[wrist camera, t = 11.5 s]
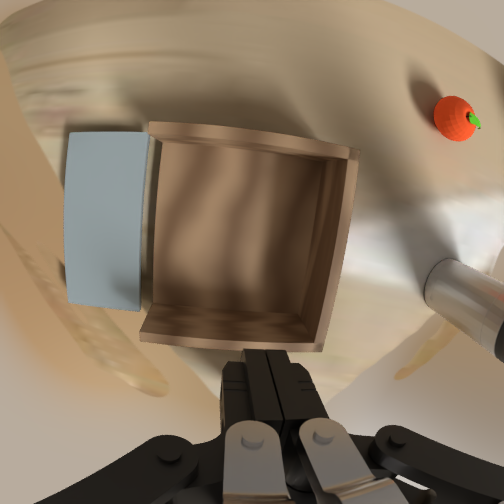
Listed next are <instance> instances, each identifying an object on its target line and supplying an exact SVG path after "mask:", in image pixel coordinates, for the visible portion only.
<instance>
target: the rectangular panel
mask: <svg viewBox="0 0 504 504" xmlns="http://www.w3.org/2000/svg"><path fill="white" fill-rule="evenodd" d="M149 142H150V135H148V132H73V133H70V135H69V143H68V151H67V161H66V173H65V189H64V257H65V273H66V285H67V295H68V303H74V304H81V305H88V306H96V307H103V308H111V309H119V310H128V311H137V312H139V311H140V310H141V239H142V218H143V202H144V189H145V178H146V168H147V158H148V150H149Z"/></svg>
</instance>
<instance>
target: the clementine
mask: <svg viewBox="0 0 504 504" xmlns="http://www.w3.org/2000/svg"><path fill="white" fill-rule="evenodd" d="M434 121H435V124H436V127H437V128H438V130H439V131H440V132H441V134H442V135H443V136H445V137H446V138H448V139H450V140H453V141H464V140H466V139H468V138H469V137H471V135H472V134H473V133H474V130H475V128H476V126H478V127H479V128H478V129H480V127H481V124H480V121H479V120H478V118H477V117H476V116H475V114H474V111H473V109H472V107H471V106H470V105H469V104H468V103H467V102H466V101H465V100H463V99H461V98H459V97H456V96H447V97H444V98H442V99H441V100H440V101H439V102H438V103H437V104H436V106H435V109H434Z"/></svg>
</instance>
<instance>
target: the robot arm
mask: <svg viewBox="0 0 504 504" xmlns="http://www.w3.org/2000/svg"><path fill="white" fill-rule="evenodd" d="M424 295H425V301H426V304H427V305H428V306H429V307H430V308H431V309H432V310H434V311H435V312H437V313H438V314H440V315H441V316H442V317H443V318H445V319H446V320H447V321H449V322H450V323H451V324H453V325H454V326H456V327H457V328H458V329H460V330H461V331H462V332H464V333H465V334H466V335H468V336H469V337H470V338H472V339H473V340H474V341H476V342H477V343H478V344H479V345H481V346H482V347H484V348H485V349H486V350H487V351H489V352H490V353H491V354H493V355H494V356H495V357H497V358H498V359H499V360H500V361H502V362H503V363H504V283H503V282H501V281H499V280H497V279H494V278H492V277H490V276H488V275H486V274H484V273H482V272H480V271H478V270H476V269H473V268H471V267H469V266H467V265H465V264H463V263H460V262H458V261H456V260H454V259H445V260H443V261H441V262H440V263H438V264H437V265H436V266H435V267H434V269H433V270H432V271H431V273H430V275H429V277H428V279H427V282H426V286H425V294H424ZM220 420H221V434H220V435H219V436H218V437H217V438H215V439H213V440H211V441H208V442H205V443H200V444H194V445H192V444H191V443H190V442H189V441H187V440H186V439H184V438H181V437H178V436H174V435H160V436H156V437H153V438H151V439H149V440H148V441H146V442H145V443H143V444H142V445H140V446H139V447H137V448H135V449H134V450H132V451H131V452H129V453H127V454H126V455H124V456H122V457H121V458H119V459H118V460H116V461H114V462H113V463H111V464H109V465H108V466H106V467H104V468H102V469H101V470H99V471H97V472H96V473H94V474H92V475H90V476H88V477H86V478H84V479H83V480H81V481H79V482H77V483H75V484H73V485H71V486H69V487H68V488H66V489H64V490H62V491H60V492H58V493H56V494H54V495H52V496H49V497H47V498H45V499H43V500H41V501H39V502H37V503H34V504H504V467H502V466H499V465H496V464H493V463H490V462H487V461H485V460H481V459H479V458H476V457H474V456H471V455H468V454H466V453H463V452H461V451H458V450H455V449H453V448H451V447H448V446H445V445H443V444H441V443H438V442H436V441H434V440H431V439H429V438H427V437H424V436H422V435H420V434H418V433H415V432H413V431H411V430H409V429H407V428H404V427H402V426H397V425H388V426H385V427H382V428H381V429H380V430H379V431H378V432H377V434H376V435H375V437H373V436H361V435H353V434H348V433H347V431H346V429H345V428H344V427H343V426H342V425H340V424H339V423H338V422H336V421H334V420H331V419H329V417H328V414H327V412H326V410H325V408H324V405H323V403H322V401H321V399H320V396H319V394H318V392H317V391H316V388H315V385H314V383H312V379H311V376H310V374H309V372H308V371H307V370H306V369H305V368H304V367H303V366H302V365H301V364H299V363H290V360H289V357H288V355H287V352H286V350H276V349H265V350H264V349H246V348H243V350H242V356H241V362H230V361H228V362H227V364H226V365H225V367H224V368H223V370H222V381H221V392H220ZM397 475H400V476H402V477H405V478H407V479H409V480H411V481H413V482H416V483H418V484H420V485H423V486H425V487H427V488H430V489H427V490H421V489H418V488H416V487H414V486H411V485H409V484H407V483H405V482H403V481H401V480H398V479H396V478H395V477H396V476H397Z"/></svg>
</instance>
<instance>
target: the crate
mask: <svg viewBox="0 0 504 504" xmlns="http://www.w3.org/2000/svg"><path fill="white" fill-rule="evenodd" d="M148 135H150V136H152V137H154V138H156V139H157V140H159V141H161V142H163V144H162V152H161V161H160V170H159V180H158V191H157V204H156V218H155V235H154V260H153V304H152V306H151V308H150V310H149V312H148V314H147V316H146V318H145V321H144V323H143V325H142V327H141V329H140V332H139V334H140V341H141V342H149V343H157V344H166V345H175V346H185V347H195V348H207V349H221V350H238V351H242V350H243V348H246V349H264V350H265V349H276V350H286V352H322V350H323V346H324V342H325V338H326V334H327V331H328V327H329V323H330V318H331V314H332V310H333V306H334V302H335V297H336V293H337V288H338V284H339V279H340V274H341V270H342V265H343V260H344V254H345V249H346V244H347V238H348V233H349V227H350V221H351V215H352V209H353V202H354V195H355V188H356V181H357V173H358V165H359V157H360V150H359V149H355V148H350V147H346V146H342V145H337V144H333V143H328V142H323V141H318V140H313V139H308V138H303V137H297V136H292V135H286V134H280V133H273V132H267V131H260V130H252V129H244V128H236V127H227V126H217V125H206V124H194V123H178V122H156V121H149V126H148Z"/></svg>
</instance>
